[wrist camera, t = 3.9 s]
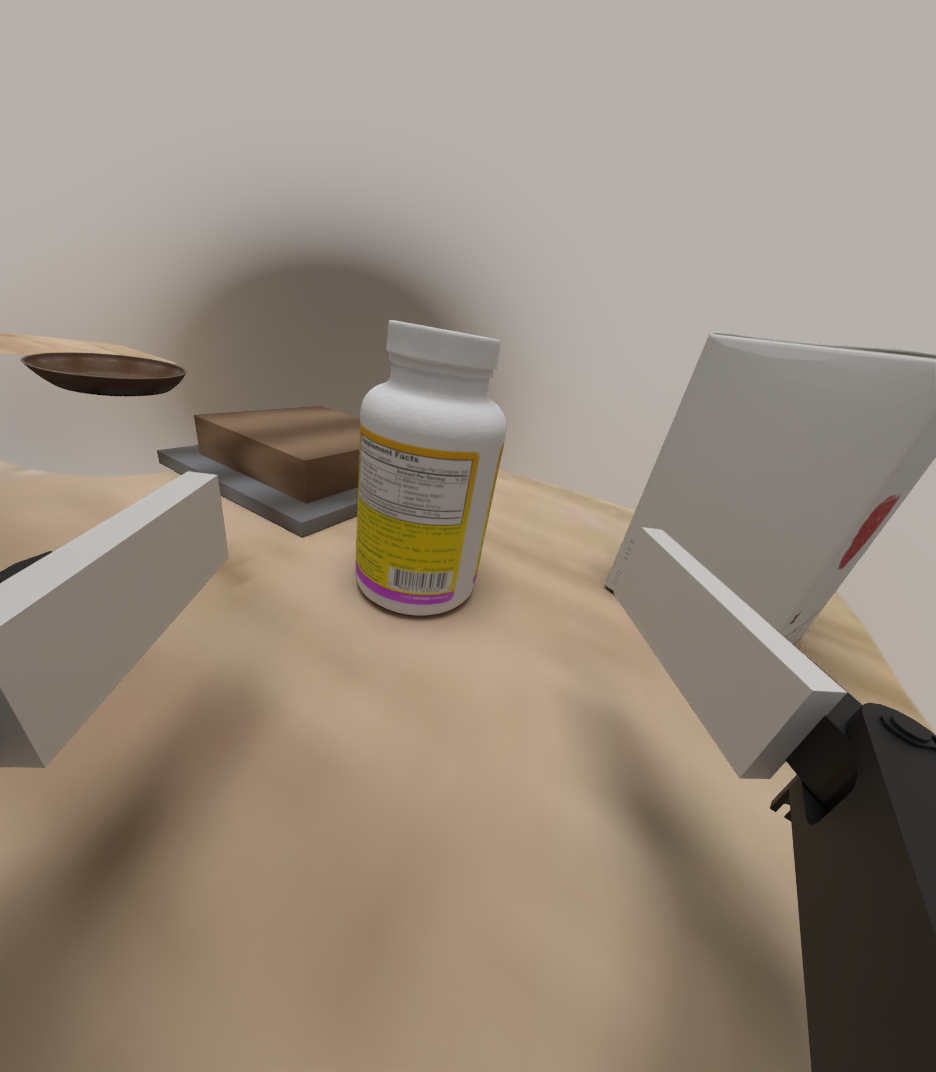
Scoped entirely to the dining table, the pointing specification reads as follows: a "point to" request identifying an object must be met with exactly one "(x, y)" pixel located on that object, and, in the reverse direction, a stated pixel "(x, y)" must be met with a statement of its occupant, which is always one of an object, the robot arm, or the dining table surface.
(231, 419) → the pedestal
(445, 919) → the dining table surface
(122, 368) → the saucer
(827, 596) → the supplement box
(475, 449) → the supplement bottle
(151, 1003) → the dining table surface
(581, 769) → the dining table surface
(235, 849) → the dining table surface
